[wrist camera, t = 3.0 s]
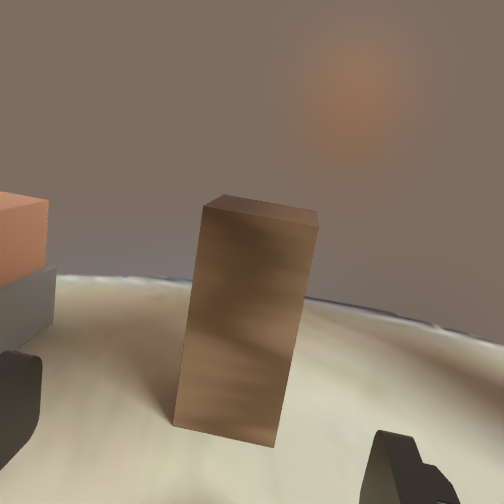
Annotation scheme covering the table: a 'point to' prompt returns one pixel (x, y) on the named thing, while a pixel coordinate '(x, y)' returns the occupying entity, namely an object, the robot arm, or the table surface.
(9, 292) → the tower base
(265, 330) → the walnut block
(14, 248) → the tower top
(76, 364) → the table surface
